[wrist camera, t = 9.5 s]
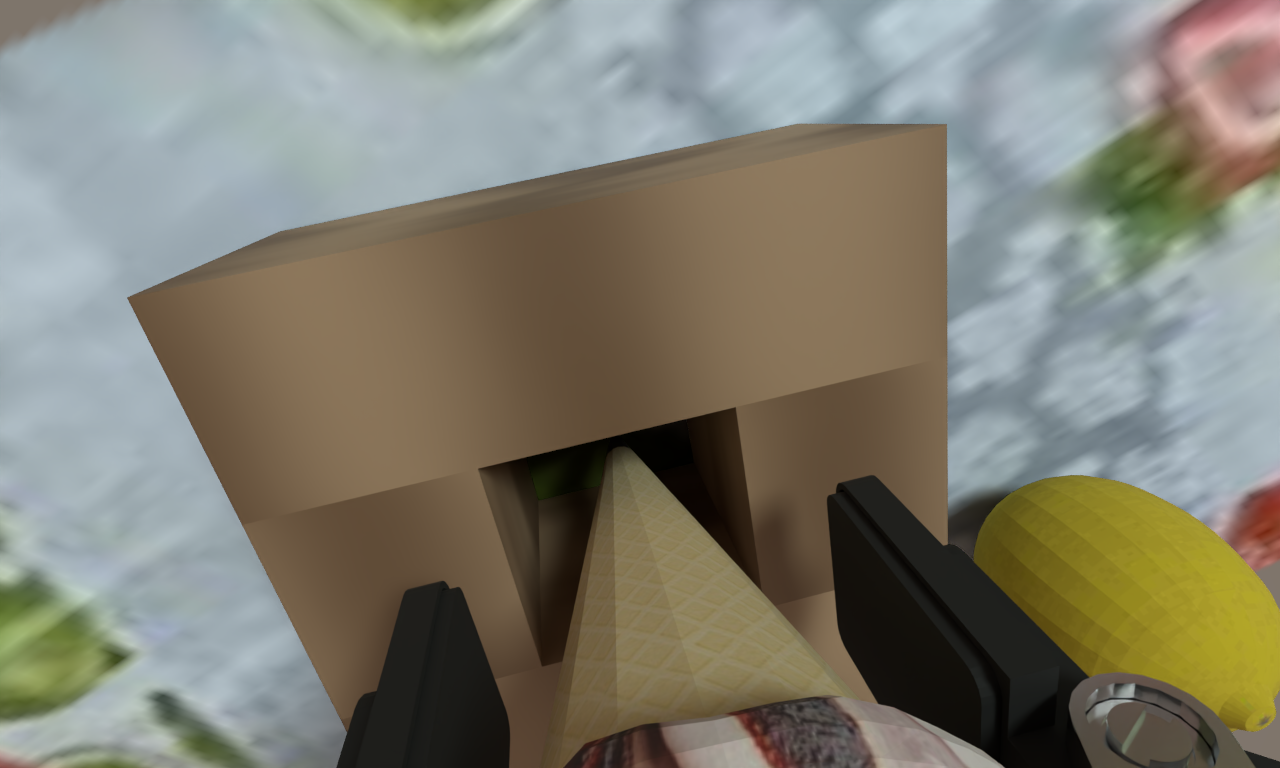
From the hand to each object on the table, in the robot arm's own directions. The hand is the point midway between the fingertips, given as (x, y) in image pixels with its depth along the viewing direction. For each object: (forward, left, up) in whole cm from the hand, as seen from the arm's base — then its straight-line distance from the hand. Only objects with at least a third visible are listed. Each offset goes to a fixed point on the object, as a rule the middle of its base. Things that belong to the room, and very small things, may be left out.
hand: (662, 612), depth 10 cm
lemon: (-11, +6, -8) cm, 15 cm away
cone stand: (0, 0, -8) cm, 8 cm away
